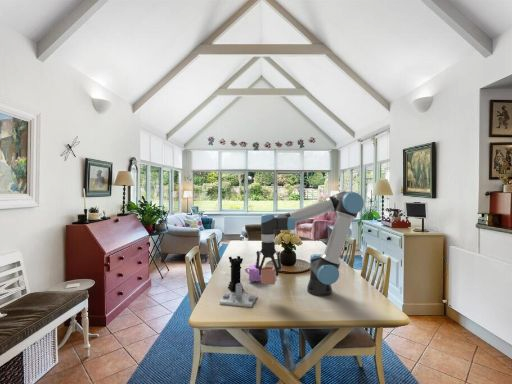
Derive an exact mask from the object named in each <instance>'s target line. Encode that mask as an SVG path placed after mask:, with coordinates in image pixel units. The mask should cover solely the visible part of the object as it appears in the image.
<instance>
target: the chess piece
mask: <svg viewBox="0 0 512 384" xmlns="http://www.w3.org/2000/svg"><path fill="white" fill-rule="evenodd" d="M228 260H229V263H230V266H229V267H230V281H229V283H228V286H227V289H228V290H229V292H231V293H236V284H237V283H242V282H241V269H242V267H241V265H242V264H243V261H244V259H243V257H241V256H240V255H237V256H236V257H235V258H233V257H232V256H228ZM243 291H245V290H244V287H243V285H242V292H243Z"/></svg>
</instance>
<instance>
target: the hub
mask: <svg viewBox="0 0 512 384" xmlns="http://www.w3.org/2000/svg"><path fill="white" fill-rule="evenodd" d="M274 271H275V267H274V266H272V265H270V266H267V265H263V266H262V270H261V273H262V282H261V284H262V285H275V283H276V282H275V276H274Z"/></svg>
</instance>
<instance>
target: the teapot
mask: <svg viewBox="0 0 512 384" xmlns="http://www.w3.org/2000/svg"><path fill="white" fill-rule="evenodd" d="M260 265H261V264H259V266H260ZM244 271H245V273H247V274H248V275H249V276H248V281H249V282H250V283H254V282H257V283H262V282H261V275H259V269H256V262H255V264H250V265H249V267H246V268H244Z"/></svg>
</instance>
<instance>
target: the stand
mask: <svg viewBox="0 0 512 384" xmlns="http://www.w3.org/2000/svg"><path fill="white" fill-rule="evenodd" d="M242 286H243V283H242V282H241V283H237V284H236V292H231V291H229V292H225V293H224V294H223V296H222V298H221V299H220V301H219V305H225V306H234V307H242V308H243V307H244V308H252V307H253V305H254V303H255V302H256V300H257V298H258V296H257V295H258V294H253V293H252V294H250V293H243V291H242Z"/></svg>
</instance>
